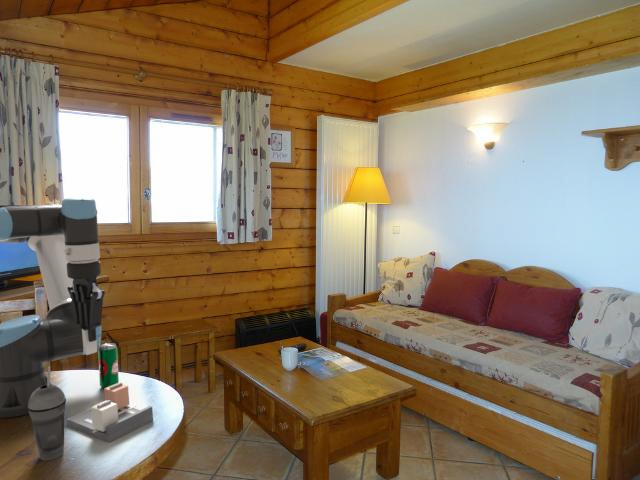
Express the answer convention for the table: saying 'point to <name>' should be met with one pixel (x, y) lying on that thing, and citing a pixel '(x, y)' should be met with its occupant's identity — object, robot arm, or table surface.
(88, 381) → the table surface
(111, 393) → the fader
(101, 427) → the block
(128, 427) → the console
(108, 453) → the table surface
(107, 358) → the soda can
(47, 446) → the beverage cup
